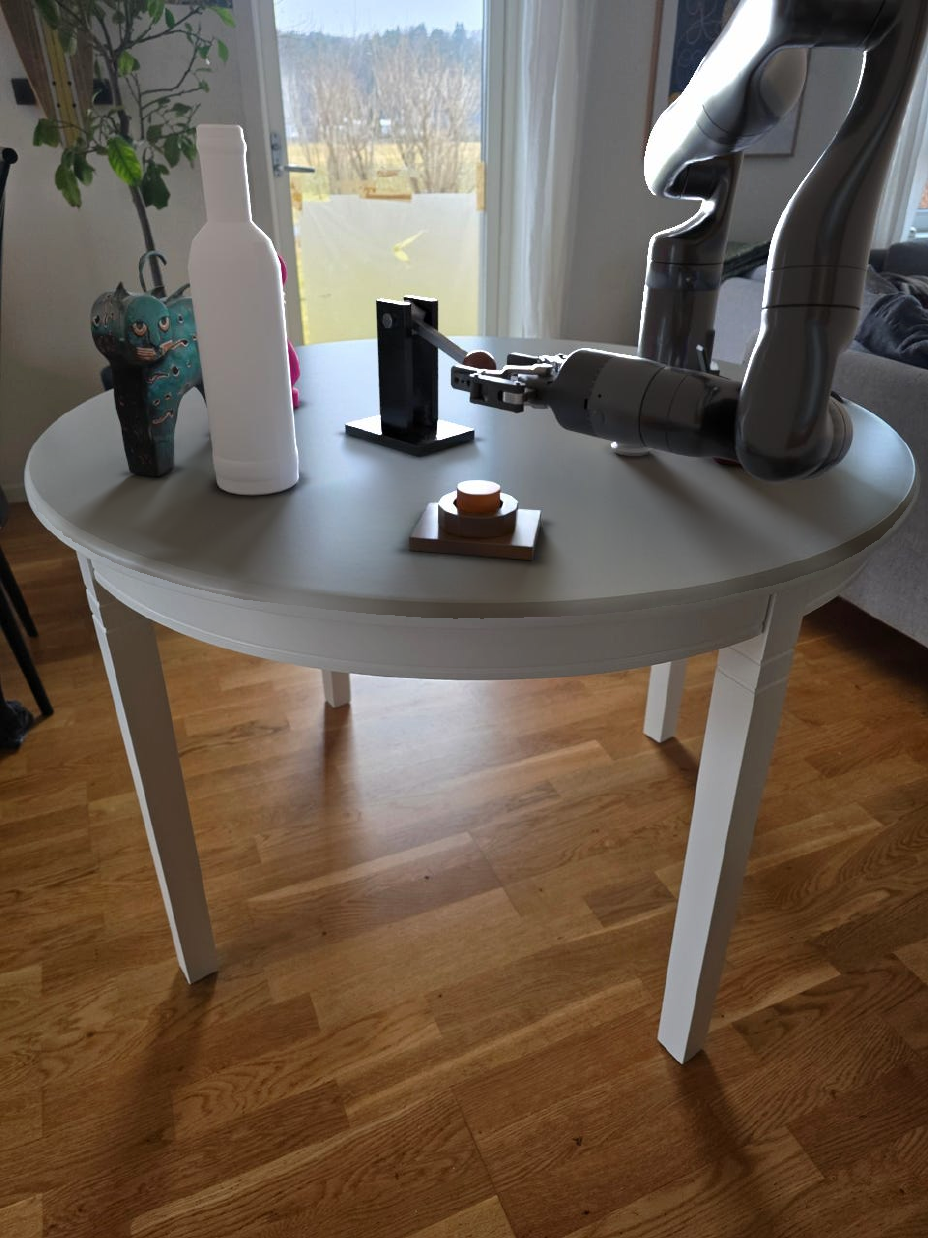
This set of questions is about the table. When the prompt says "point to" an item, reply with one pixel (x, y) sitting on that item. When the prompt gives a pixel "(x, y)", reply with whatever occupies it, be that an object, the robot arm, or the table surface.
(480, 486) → the button
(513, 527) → the button block
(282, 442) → the bottle
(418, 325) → the press lever
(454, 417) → the table surface
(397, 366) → the lever bracket
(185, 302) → the ceramic cat
